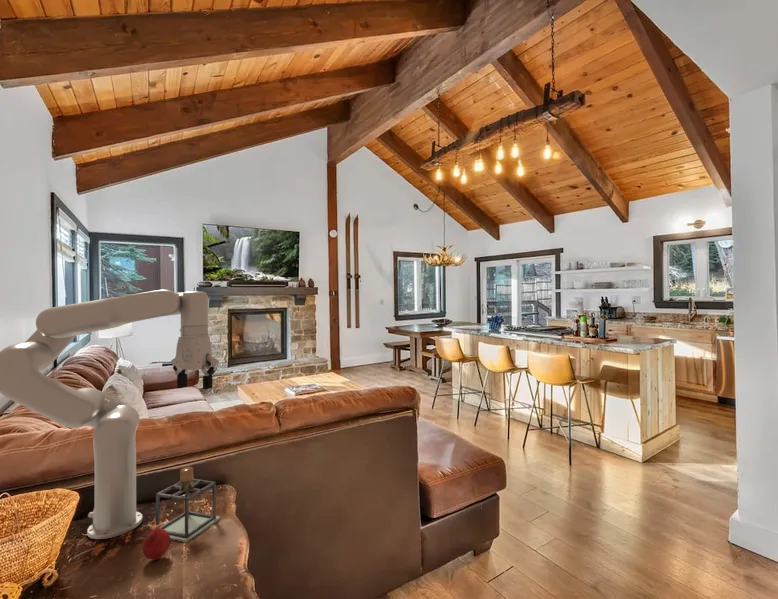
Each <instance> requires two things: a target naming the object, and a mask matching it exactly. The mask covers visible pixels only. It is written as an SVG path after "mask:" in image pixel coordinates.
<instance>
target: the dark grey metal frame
mask: <svg viewBox="0 0 778 599" xmlns="http://www.w3.org/2000/svg"><path fill="white" fill-rule="evenodd" d="M179 477H180V480H179V481H178V482H176V483H174V484H173V485H172V484H171V485H170V486H167V487H166V488H164V489H163V490H161V491H159V492H157V493H155V526H156V525H160V528H161V529H164V528H166V527H167V526H169V525H170V524H172V523H174V522H175V521H177V520H178V519H180V518H182V517H183V516H185V534H183V533H178V532H173V531H168V530H166V531H167V532H168V533H169V535H173V536H178V537H183V538H188V537H189V536H191V535H192V534H193V533H195V532H196V531H198V530H199V529H201V528H202V527H204V526H205V525H206V524H208V523H209V522H211V521H212V520H214V519H215V518H216V516H217V482H216V481H213V480H205V479H199V478H198V479H197V478H194V467H192V466H188V467H187V466H186V467H182V468H181V469H180V470H179ZM199 484H206V486H204V487H202V488H197V487H196V486H197V485H199ZM210 488H212V514H208V513H202V512H197V511H191V510H190V508H189V507H190V500H191V499H192V498H194V497H196V496H198V495H200V494H201V493H202V492H203V493H204V492H205V491H207V490H208V489H210ZM172 489H175V490H179V491H177V492H175V493H173V494H167V493H168V491H171V490H172ZM190 492H194V493H191V494H190ZM183 493H185V495H184V496H180V495H182V494H183ZM160 498H165V499H171V500H172V499H173V500H177V501H178V500H179V501H184V512H183V513H181V514H179V515H178V516H176V517H175V518H173V519H171V520H170V521H167V522H166V523H165V524H163V525H161V524H160V523H161V522H160V521H161V519H160V517H161V514H160V513H161V512H160V511H161V508H160V506H161V504H160V501H161V500H160ZM188 514H190V515H195V516H201V517H207V518H210V519H208V520H207V521H205V522H204V523H202V524H201V525H199V526H198V527H197V528H195V529H194V530H192V531H191V532H189V533H188Z"/></svg>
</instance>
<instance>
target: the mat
mask: <svg viewBox="0 0 778 599" xmlns="http://www.w3.org/2000/svg"><path fill="white" fill-rule="evenodd" d="M208 519H210V518H207V517H201V516H195V515H190V514H188V533H189V532H191V531H192V530H194V529H195V528H197V527H198V526H199V525H201V524H202V523H204V522H205V521H207V520H208ZM220 520H221V516H218V515H216V518H215V519H214V520H212V521H211V522H209V523H208V524H206V525H205V526H204V527H202V528H201V529H199V530H198V531H196V532H195V533H193V534H192V535H191V536H189V537H188V538H183V537H178V536H173V535H170V539H172V540H171V541H175V540H178V541H177V542H180V541H184V542H183V543H185V542H187V543H189V542H190V541H191V540H193V539H194V538H196V537H197V536H199V535H198V534H202V533H203V532H205V531H206V530H207V529H209V528H210V527H212V526H213V525H215V523H217V522H218V521H220ZM164 530H168V531H173V532H178V533H183V534H185V516H183V517H182V518H180V519H178V520H177V521H175V522H174V523H172V524H170V525H169V526H167V527H166V528H164ZM196 535H197V536H196ZM195 536H196V537H195ZM193 537H194V538H193ZM192 538H193V539H192ZM190 539H191V540H190ZM189 540H190V541H189ZM188 541H189V542H188Z"/></svg>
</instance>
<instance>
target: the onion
mask: <svg viewBox="0 0 778 599" xmlns="http://www.w3.org/2000/svg"><path fill="white" fill-rule="evenodd" d="M160 527H161V524H160V525H156V524H155V527H154V528H153V529H152V530H150V532H149V533H148V534H147V536H146V537H145V538H144V539H143V543H142V548H141V551H142V554H143V556H144V557H145V558H146V559H149V560H153V561H159V560H160V559H161V557H162V556H164V555H165V553H167V552H168V550H169V548H170V547H171V541H172V540H171V539H170V535H169V533H168V532H167V531H166V530H164V529H161V528H160Z"/></svg>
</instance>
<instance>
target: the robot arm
mask: <svg viewBox="0 0 778 599" xmlns="http://www.w3.org/2000/svg"><path fill="white" fill-rule="evenodd" d="M175 315H180V328H179V333H180V336H178V338H177V344H176V350H175V357H174V358H173V359H171V361H170V362H171V365H172V369H173V370H174V372H175V375H176V378H177V379H176V380H177V381H176V382H177V383H176V385H177V386H176V388H177V389H182V388H186V387H187V386H188V374H187V373H186V372H187V371H201V372H202V373H203V376H202V390H209V389H212V388H213V375H215V372H216V371H217V370H218V366H219V364H220V361H219V360H218V359H217V358H215V357H214V356H213V355H212V354H213V352H212V344H211V343H212V342H211V338H210V335H209V297H208V294H207V293H206V292H205V291H200V290H199V291H197V290H195V291H184V292H174V291H172V290H170V289H158V290H151V291H146V292H145V291H144V292H139V293H133V294H132V293H131V294H128V295H122V296H113V297H107V298H101V299H96V300H90V301H81V302H76V303H71V304H65V305H59V306H54V307H53V306H52V307H50V308H46V309H44V310H42V311H41V312H39V313H38V315H37V317H36V320H35V327H36V330H35V331H34V333H32V334H31V336H30V337H28V338H27V340H25V341H24V342H20V343H14V344H12V345H8V346H6V347H5V348H3V349H2V350H1V351H0V394H2V395H3V396H4V397H5V398H7V399H9V400H10V401H13V402H15V403H17V404H18V405H21V406H22V407H25V408H27V409H29V410H31V411H34V412H35V413H37V414H39V415H42V416H43V417H45V418H47V419H49V420H52V421H54V422H55V423H56V422H57V423H58V424H60V425H62V426H64V427H66V428H70V429H79V428H84V427H85V426H89V427H91V428H93V429H94V430H93V434H92V446H93V448H92V449H93V459H94V470H93V471H94V507H93V510H92V511H90V512H89V513H88V514H87V517H88V518H91V519H92V524H91V525H89V526H88V528H87V529H86V530H87V531H86V534H87V535H86V536H88V538H90V539H93V540H106V539H109V538H115V537H119V536H122V535H124V534H126V533H129V532H131V531H132V530H134V529H136V528H137V527H138V526H140V525H141V523H142V522H143V516H144V515H143V514H142V513H141V512H139V511H137V449H136V448H137V444H136V434H137V430H138V427H139V425H140V420H141V418H140V415H139V413H138V411H137V409H135V408H134V407H133V406H131V405H130V404H127V403H125V402H123V401H121V400H119V399H117V398H115V397H114V396H111V395H109V394H107V393H105V392H104V391H102V390H100V389H97V388H92V387H82V388H78V389H76V388H73V387H71V386H69V385H66V384H64V383H63V382H61V381H59V380H57V379H55V378H52V377H49V376H48V375H45V374H43V373H42V372H41V371H43V370H45V369H47V368H48V367H49V366H50V365H52V364H53V363H54V361H55V360H56V359H57V358H58V357H59V356H60V355H61V354H62V353H63V351H64V350H65V349H66V348H67V347H68V346H69V345H70V344H71V342H72V341H73V340H75V338H76V337H77V336H79V335H82V334H89V333H93V332H98V331H105V330H110V329H114V328H119V327H121V326H123V325H128V324H130V323H134V322H140V321H144V320H150V319H156V318H162V317H169V316H175Z"/></svg>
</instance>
